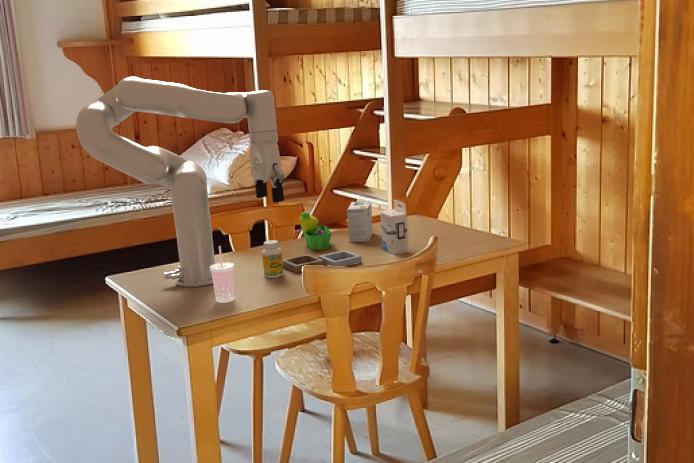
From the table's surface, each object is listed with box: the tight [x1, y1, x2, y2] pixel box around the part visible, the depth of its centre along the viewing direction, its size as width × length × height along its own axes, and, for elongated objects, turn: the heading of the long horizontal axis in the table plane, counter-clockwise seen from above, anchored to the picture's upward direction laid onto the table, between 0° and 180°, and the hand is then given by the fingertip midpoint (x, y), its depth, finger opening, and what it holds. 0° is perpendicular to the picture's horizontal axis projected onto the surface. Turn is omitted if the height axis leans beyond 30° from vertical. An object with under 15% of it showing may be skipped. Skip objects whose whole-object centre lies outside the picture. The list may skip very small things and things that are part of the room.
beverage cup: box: [210, 245, 235, 304], centre depth 208 cm, size 6×6×14 cm
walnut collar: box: [282, 253, 325, 274], centre depth 234 cm, size 9×9×2 cm
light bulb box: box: [346, 200, 374, 243], centre depth 262 cm, size 11×7×11 cm, turn 172°
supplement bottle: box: [261, 239, 284, 279], centre depth 227 cm, size 5×5×10 cm
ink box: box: [380, 199, 409, 255], centre depth 243 cm, size 8×5×15 cm, turn 23°
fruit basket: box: [298, 211, 332, 251], centre depth 255 cm, size 11×9×11 cm
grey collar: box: [317, 249, 363, 267], centre depth 235 cm, size 9×9×2 cm
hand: (270, 199), depth 226 cm, fingers open, 9 cm apart
